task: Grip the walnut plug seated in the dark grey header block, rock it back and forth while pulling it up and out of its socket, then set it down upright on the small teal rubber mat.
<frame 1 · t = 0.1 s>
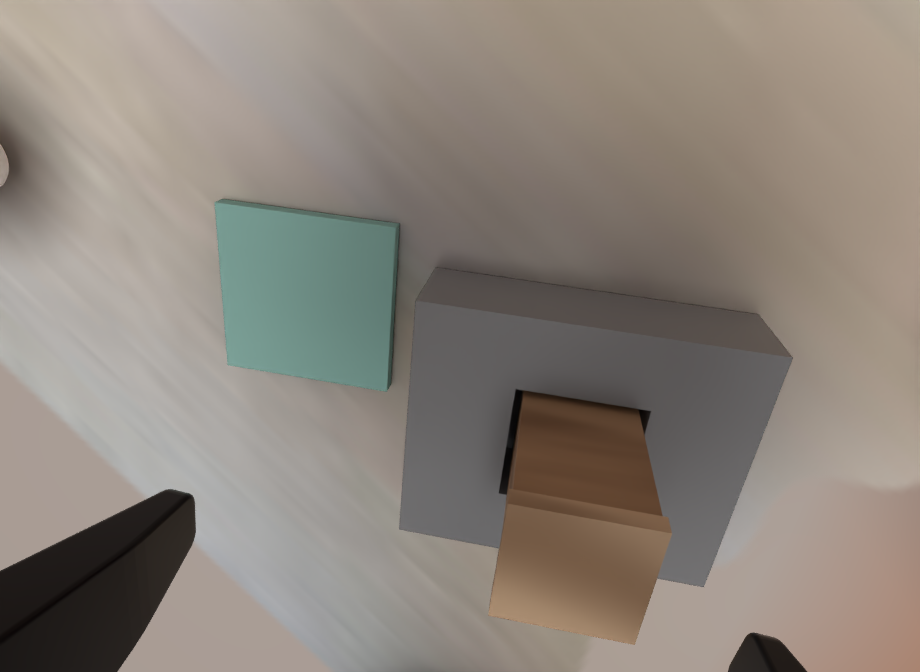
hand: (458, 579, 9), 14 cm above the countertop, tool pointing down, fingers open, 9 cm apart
mat: (310, 296, 24), on the countertop
header: (569, 403, 24), on the countertop
plug: (569, 410, 24), resting on header
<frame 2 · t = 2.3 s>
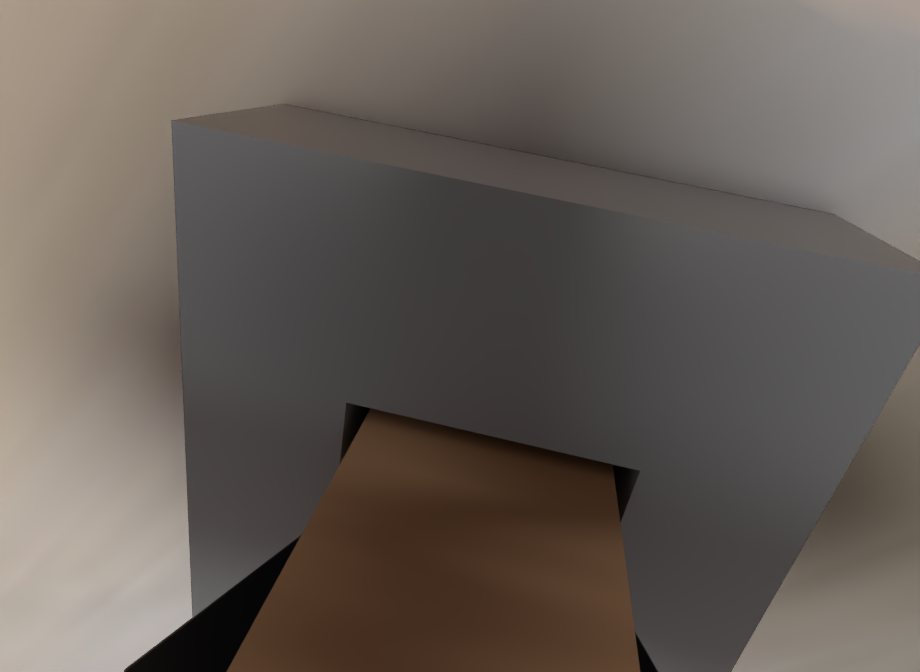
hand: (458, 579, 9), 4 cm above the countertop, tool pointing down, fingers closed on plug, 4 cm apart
header: (487, 431, 13), on the countertop
plug: (484, 443, 13), resting on header, touching gripper
when the fingers open (5 cm above the countertop, at t = 7.3 s): plug stays where it is, resting on mat.
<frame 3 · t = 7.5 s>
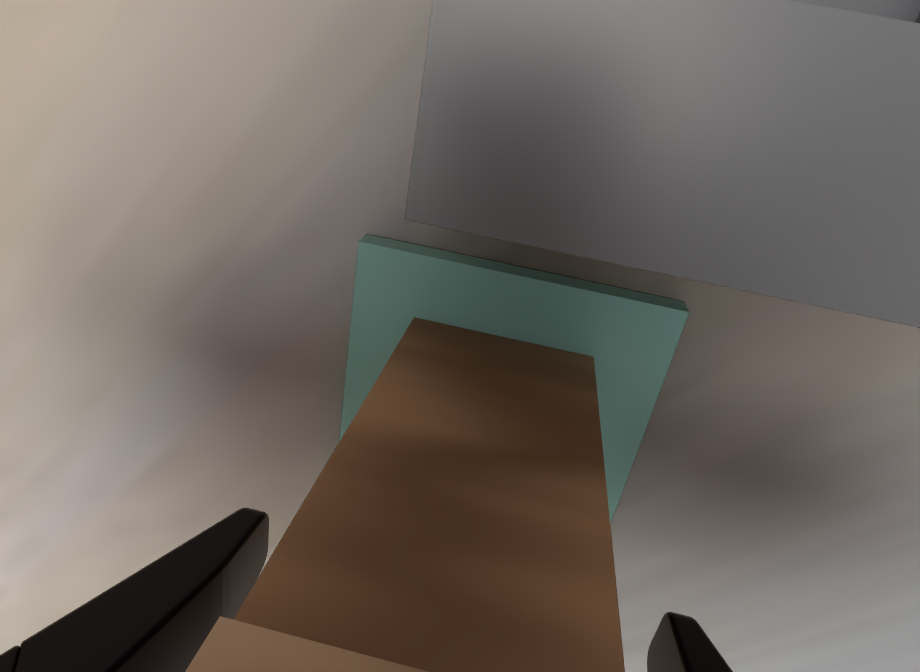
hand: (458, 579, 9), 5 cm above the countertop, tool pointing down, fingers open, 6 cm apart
mat: (491, 402, 14), on the countertop
plug: (486, 412, 14), point 1 cm above the countertop, touching mat
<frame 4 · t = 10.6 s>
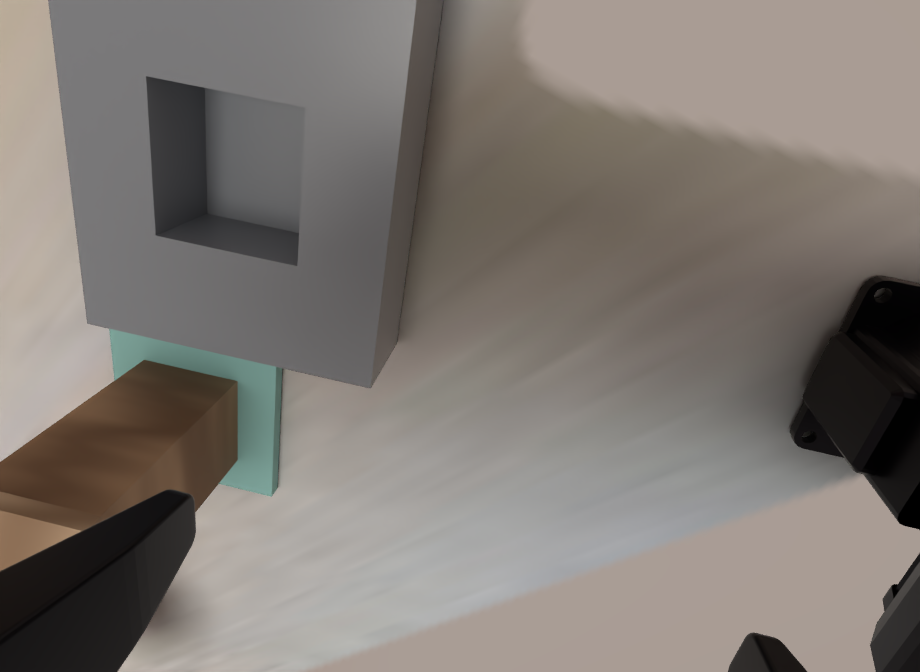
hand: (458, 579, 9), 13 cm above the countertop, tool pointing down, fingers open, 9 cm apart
mat: (202, 405, 25), on the countertop
header: (277, 158, 20), on the countertop
plug: (192, 411, 25), point 1 cm above the countertop, touching mat
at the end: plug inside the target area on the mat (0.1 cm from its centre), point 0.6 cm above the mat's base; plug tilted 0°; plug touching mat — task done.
